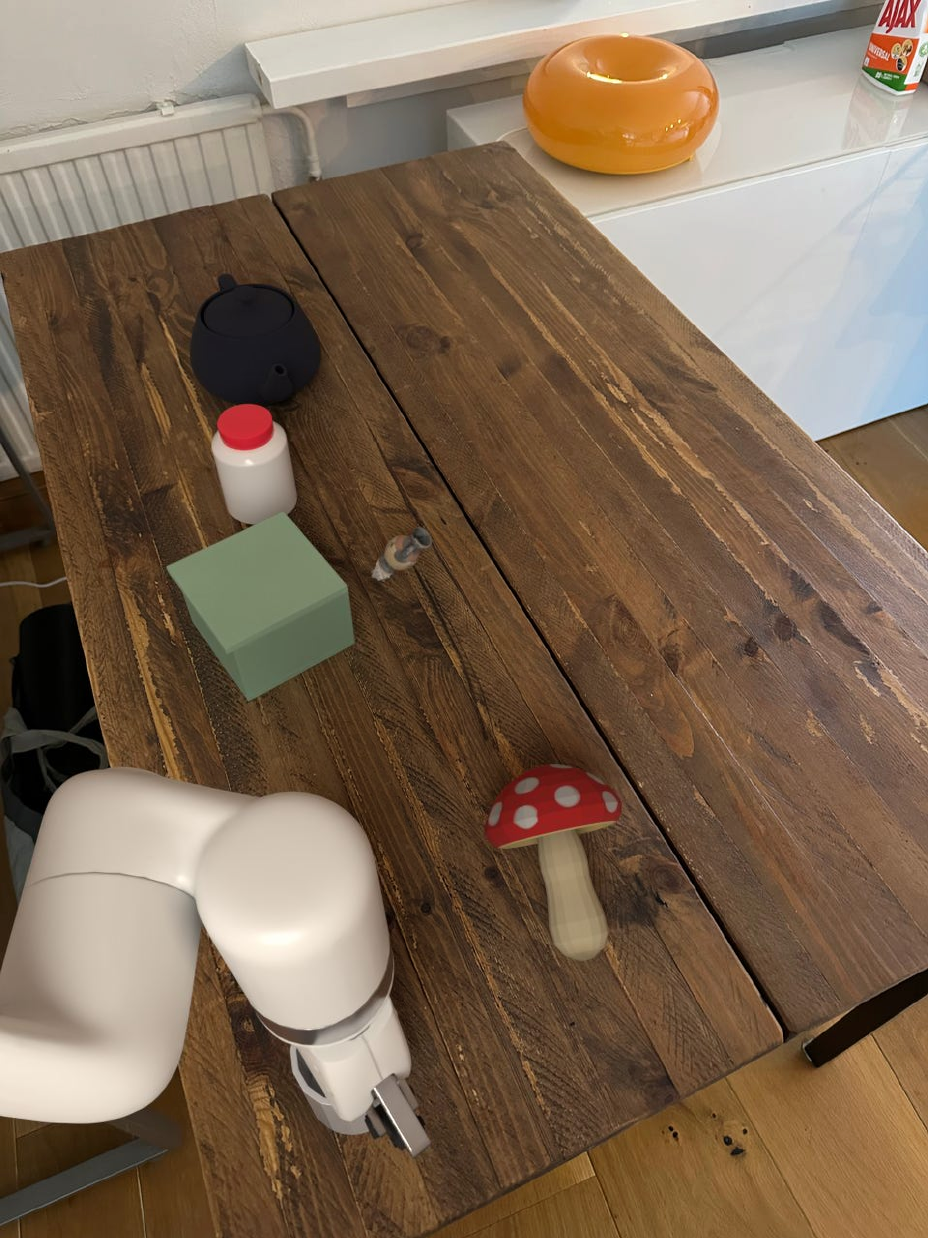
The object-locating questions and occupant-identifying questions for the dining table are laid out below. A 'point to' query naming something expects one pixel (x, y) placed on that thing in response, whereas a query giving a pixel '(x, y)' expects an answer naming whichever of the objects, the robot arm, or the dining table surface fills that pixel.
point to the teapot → (253, 344)
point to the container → (284, 647)
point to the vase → (401, 553)
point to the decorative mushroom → (559, 845)
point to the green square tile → (256, 581)
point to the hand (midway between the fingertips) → (352, 1052)
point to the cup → (323, 1099)
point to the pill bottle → (253, 464)
